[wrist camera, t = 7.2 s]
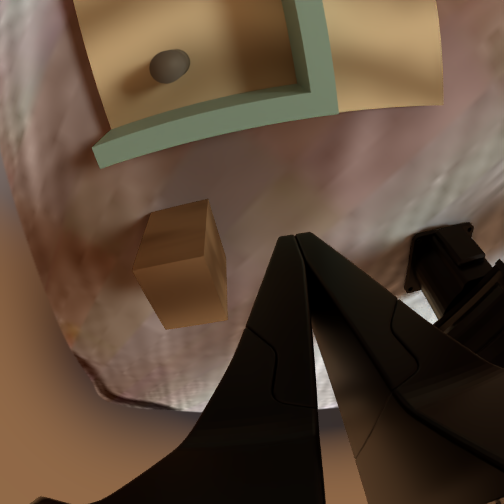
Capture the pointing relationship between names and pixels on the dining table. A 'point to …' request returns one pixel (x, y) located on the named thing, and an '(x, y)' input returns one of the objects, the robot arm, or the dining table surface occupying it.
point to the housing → (242, 98)
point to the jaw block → (183, 266)
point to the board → (255, 52)
